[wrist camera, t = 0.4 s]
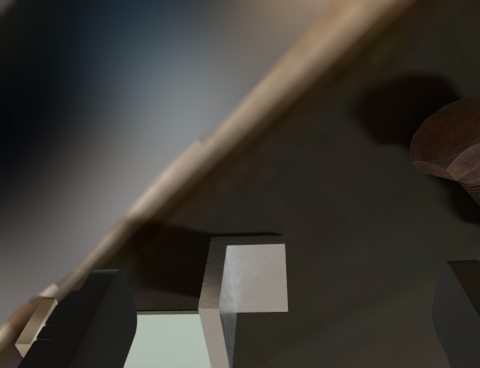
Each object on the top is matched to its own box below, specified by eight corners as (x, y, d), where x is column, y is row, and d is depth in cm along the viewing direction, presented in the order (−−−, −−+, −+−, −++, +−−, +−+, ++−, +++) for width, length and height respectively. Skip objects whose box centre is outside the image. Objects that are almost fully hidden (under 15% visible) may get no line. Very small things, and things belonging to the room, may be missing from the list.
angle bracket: (211, 236, 34) (198, 308, 28) (284, 234, 33) (287, 307, 27) (222, 302, 38) (213, 377, 32) (287, 301, 38) (290, 377, 31)
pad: (91, 312, 40) (90, 315, 40) (212, 310, 39) (212, 313, 39) (117, 372, 46) (116, 375, 45) (224, 372, 44) (224, 375, 44)
